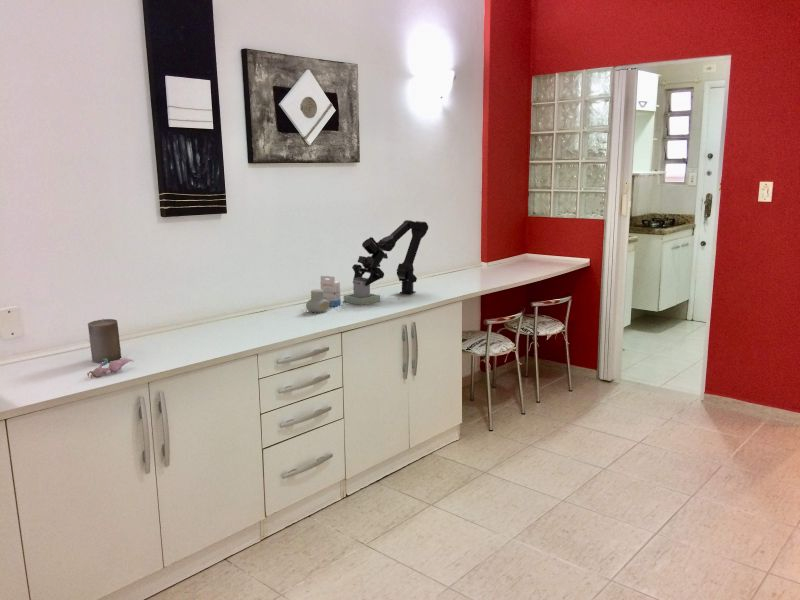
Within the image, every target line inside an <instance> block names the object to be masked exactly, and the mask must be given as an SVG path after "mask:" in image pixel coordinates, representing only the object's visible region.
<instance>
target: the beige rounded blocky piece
mask: <svg viewBox="0 0 800 600" xmlns="http://www.w3.org/2000/svg"><path fill="white" fill-rule="evenodd" d="M305 308H306V310H307V311H309V312H311V313H315V312H316V313H315V314H317V313H318V312H322V313H324V312H326V311H327V310H328V309H329V308H330V306H329V302H328V301H327V300H325V299H324V291H323V290H321V289H312V290H310V299H309V300H308V301H307V302H306V303H305ZM318 314H319V313H318Z"/></svg>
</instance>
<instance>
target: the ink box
mask: <svg viewBox="0 0 800 600" xmlns="http://www.w3.org/2000/svg"><path fill="white" fill-rule="evenodd" d="M320 290H323V291H324V299H325V300H327V301H328V302H329V307H333V306H336V307H338V305H339V306H341V301H342V300H341V282H340V281H339V280H336V281H335V276H330V275H320Z"/></svg>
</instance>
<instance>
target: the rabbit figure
mask: <svg viewBox="0 0 800 600" xmlns="http://www.w3.org/2000/svg"><path fill="white" fill-rule="evenodd" d="M103 360H104V362H103V363H100V365H99V366H98V367H96V368H95V369H94V370H89V372H87V374H86V375H87V377H90V378H91V379H93V377H95V378H100V377H102V376H103V375H106V374H108V373H109V372H110V373H112V372H115V373H117V372H118V371H120V370H121V369H122V367H123V366H125V365H126V364H128V363H130V362H134V361H135V360H133V359H130V358H121V359H119V360H115V361H112V362H108V360H107V359H106V358H105V359H103ZM108 363H109V364H108ZM106 365H108V367H104V366H106ZM99 376H100V377H99Z"/></svg>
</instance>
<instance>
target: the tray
mask: <svg viewBox="0 0 800 600" xmlns="http://www.w3.org/2000/svg"><path fill="white" fill-rule="evenodd" d="M342 298H343V302H344V301H346V302H345V303H349V302H350V303H349V304H353V303H354V305H358V304H359V306H363V304H364V305H368V303H369V304H372V303H373V302H374V303H379V302H381V294H377V293H376V294H375V293H371V292H370V297H366V298H356V297H354V293H350V294H345V295H343V297H342ZM378 301H379V302H378Z"/></svg>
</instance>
